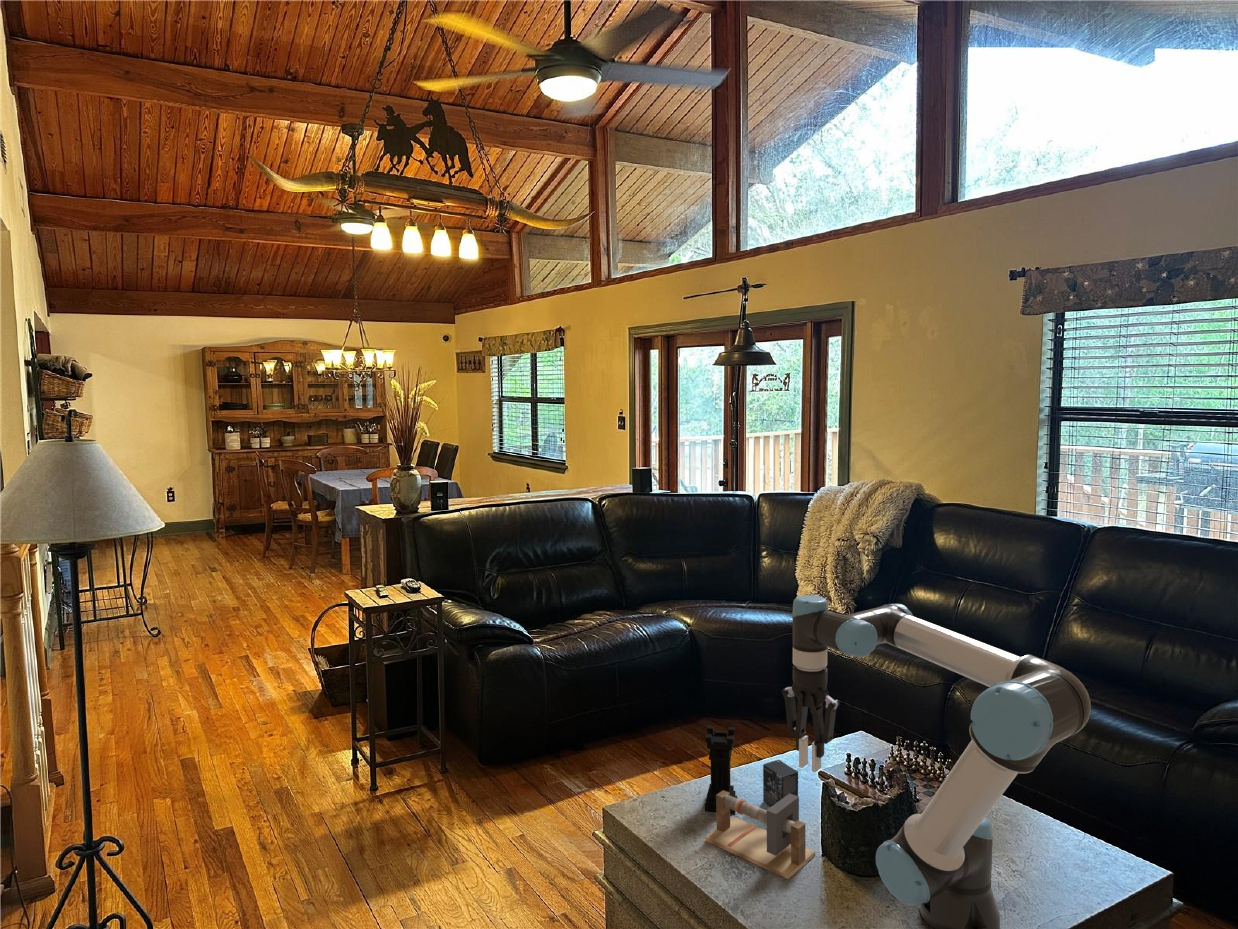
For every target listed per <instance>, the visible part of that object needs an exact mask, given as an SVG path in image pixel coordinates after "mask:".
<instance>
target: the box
mask: <svg viewBox="0 0 1238 929" xmlns="http://www.w3.org/2000/svg"><path fill="white" fill-rule="evenodd" d="M762 775H763V776H762V782H763V784H762V785H763V786H762V788H763V789H762V793H763V794H762V796H763V798H762V799H763V800H762V801H763V802H764V803H765V804H767V805H768V806H770V807H772V806H773V805H774V804H776V803H777V802H778V801H780V800H781V799H783V798H784V797H785V796H787V795H788V794H789V793H790V794H793V795H795V796H798V797H799V770H797V769H794V768H793V767H792V766H790V765H788V764H786V763H785V762H783V761H782V760H780V759H779V758H778V759H776V760H773V761H769V762H766V763H763V765H762Z"/></svg>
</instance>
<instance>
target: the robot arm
mask: <svg viewBox="0 0 1238 929" xmlns="http://www.w3.org/2000/svg"><path fill="white" fill-rule="evenodd" d="M828 605H829V604H828V600H827V599H826V598H824V596H820V595H815V594H805V595H800V596H797V597H795V598H794V599H793V603H792V614H791V618H792V664H793V666H792V681H793V683H792V685H791V686H787V687H785V688H783V689H782V690H781V694H782V696H783V699H784V705H785V706H784V707H785V716H786V725H787V732H789V733H790V734H793V735H794V737H795V749H796V751H797V752H798V767H799V768H801V769H802V768H804V767H805V766H806V765H808V764H809V735H806V733H807V731H806V726H807V720H808V719H807V718H808V710H810V714H811V716H812V717H811V718H812V724H813V725H812V726H813V734H814V741H813V742H812V743H811V772H813V773H816V772H818V771H819V770H820V769H822V758H823V757H824V755H825V745H827V744H829V743H830V742H832V741H833V738H834V732H835V731H834V730H835V722H836V715H837V714H836V713H837V709H838V707H839V706H840V701H839V700H838V699H833V698H832V697H831V696H830V695H829V691H828V688H827V687H828V668H827V666H828V648H830V649H833V650H834V651H838V652H840V653H843V654H844V655H848V656H850V657H857V658H866V657H868V656H870V655H871V653H872V652H873V651H875V649H876V646H877V645H880V644H881V645H882V644H888V645H890V646H893V647H895V648H897V649H899V650H900V649H901V650H902V651H905V652H907V653H910V654H911V655H914V656H916V657H919V658H921V659H924V660H926V661H928V662H930V663H934V664H936V665H938V666H940V667H942V668H945V669H946V670H948V671H951V672H954V673H957V674H958V675H961V676H963V677H965V678H967V679H970V680H972V681H974V682H977V683H979V684H982V685H984V686H986V687H989V688H986V689H985V690H984V691H982V692H981V693H980V694H979V695H978V696H977V698H975V700H974V702H973V703H972V706H971V711H970V720H971V721H972V722H971V723H970V725H969V730H968V731H969V736H970V738H971V741H970V742H969V743H968V745H967V746H966V747H965V749H964V751H963V753H962V754H960V757H959V758H958V760H957V761H956V762H955V764H954V765H953V767H952V768H951V770H950V772H949V773H948V774H947V775H946V777H945V779H944V780H943V782H942V783H941V784H940V786H939V788H938V789H937V791H936V792H935V793H934V795H933V796H932V798H931V799H930V801H929V802H928V804H927V805H926V807H925V808H924V809H923V811H922V813H914V814H912V815H910V816H909V817H907V819H906V820H905V822H904V824H902V827H901V828H900V829H899V831H898V832H897V834H896V835H895V836H894V837H893V838H891V839H889V840H885V841H883V843H882V844H880V845H879V846H878V848H876V852H875V865H876V868H877V870H878V875H879V876H880V878H881V880H882V882H883V884H884V886H885V887H886V889H887V890H888V891H889V892H890V893H891V895H893V897H895V898H896V899H897V900H899V901H900V902H901V903H903V904H907V906H912V907H915V906H917V907H918V906H919V910H920V911H919V912H920V915H921V917H922V919H923V920H924V921H925V923H926V924H927V925H928V926H929V927H930V928H931V929H1000V928H1001V914H1000V911H999V907H998V905H997V902H996V899H995V895H994V893H993V889H992V867H993V866H992V864H993V839H994V835H993V824H992V821H991V820H990V817H988V815H989V813H990V812H991V810H992V809H993V808H994V806H995V805H996V804H997V803H998V801H999V800H1000V798H1001V797H1002V796H1003V794H1004V793H1005V792H1006V790H1007V789H1008V788H1009V786H1010V785H1011V783H1012V782H1013V781H1014V779H1015V778H1016V777H1017V776H1018V774H1029V773H1031V772H1033V771H1034V770H1035V769H1036V767H1037V766H1039V763H1041V761H1042V760H1043V758H1044V757H1045V756H1046V754H1047V753H1048V752H1049V751H1050V749H1051V748H1052V747H1053V746H1054V745H1056V743H1060V742H1061V741H1063V740H1065V739H1067V738H1069V737H1072V736H1074V735H1076V734H1077V733H1079V732H1080V731H1081V730H1082V729H1083V728H1084V727H1085V726H1086V725H1087V723H1088V721H1089V719H1090V716H1091V714H1092V713H1091V710H1092V705H1091V704H1092V703H1091V699H1090V695H1089V693H1088V690H1087V689H1086V687H1085V686H1084V684H1083V683H1082V681H1080V679H1079V678H1078V677H1076V676H1075V675H1074V674H1073V673H1072V672H1071V671H1069V670H1067V669H1065V668H1064V667H1062V666H1060V665H1058V664H1055V663H1052V662H1050V661H1048V660H1046V659H1042V658H1041V657H1040V658H1039V657H1037V656H1035V655H1033V654H1026V655H1024V656H1019V655H1017V654H1014V653H1011V652H1009V651H1006V650H1005V649H1001V648H998V647H995V646H993V645H990V644H989V643H988V644H987V643H985V642H982V641H980V640H977V639H974V638H972V637H969V636H966V635H965V634H961V633H958V632H956V631H953V630H951V629H948V628H946V627H942V626H941V625H937V624H934V623H932V622H930V621H927V620H924V619H922V618H918V617H916V616H914V615H913V613H912V611H910V610H909V608H908V607H907V606H906V605H904V604H901V603H888V604H882V605H880V606H878V607H875V608H870V609H866V610H862V611H857V612H854V613H850V614H840V613H836V612H834V611H830V610H829V606H828ZM796 700H797V705H796ZM824 703H825V713H824V714H823V710H824Z"/></svg>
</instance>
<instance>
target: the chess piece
mask: <svg viewBox="0 0 1238 929" xmlns="http://www.w3.org/2000/svg"><path fill="white" fill-rule="evenodd" d="M714 730H715V727H714V725H707V727H706V733H708V734H705V737H704V738H705V739H704V741H705V742H706V749H709V754H708V760H709V761H710V783H709V786H708V790H707V792H706V793H707V794H706V798H705V804H704V807H703V808H704V810H703V812H704V813H714V814H716V795H717V794H718V793H720V792H721V791H723V790H724V791H726V792H729V793H730V796H732V797H735V798H737V799H738V795H736V790H734V789H735V786H734V785H732V784H731V783H732V782H731V760H732V754H733V753H732V752H733V746H734V745H733V744H734V740H735V739H734V738H735V737H734V735H735V733H736V727H734V726H733V727H732V726H728V729H727V730H728V731H721V730H720V731H719V730H718V731H717V730H715V731H714ZM736 813H737V811H734V810H732V809H730V815H736Z"/></svg>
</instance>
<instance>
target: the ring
mask: <svg viewBox="0 0 1238 929" xmlns="http://www.w3.org/2000/svg"><path fill="white" fill-rule="evenodd" d="M766 810H767V824H766V831H767V852H768V853H771V854H773V855H775V856H777V855H778V854H779V853H780V852H782V851H783V850H784V849H785V848H787V847H788V846H789V845H790V844H791V834H789V833H787V832H784V831H783V820H784V819H789V820H791V821H794V822H796V821H797V820H798V821H800V797H799V795H798V796H795V795H793V794H790V793H789V794H788V795H787V796H785V797H784V798H783V799H781V800H780V801H778V802H777V803H776V804H774V805H773V806H772V807H771V806H770V807H769V808H768V809H766Z"/></svg>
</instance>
